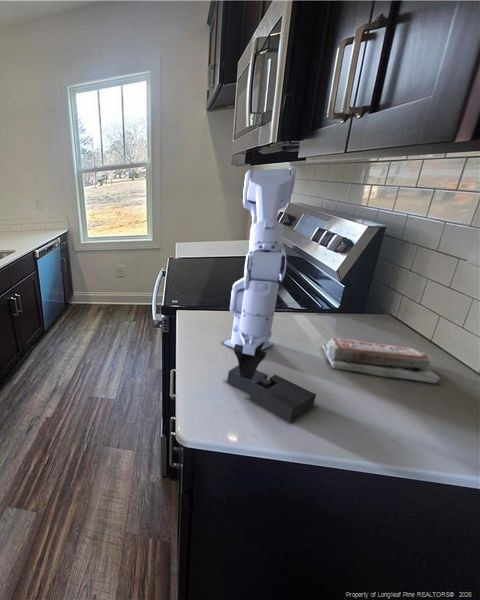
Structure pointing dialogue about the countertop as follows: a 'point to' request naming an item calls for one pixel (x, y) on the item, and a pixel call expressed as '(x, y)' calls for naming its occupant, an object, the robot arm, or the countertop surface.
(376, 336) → the countertop surface
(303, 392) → the black pad
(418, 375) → the packaged product
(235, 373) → the graphite pad
